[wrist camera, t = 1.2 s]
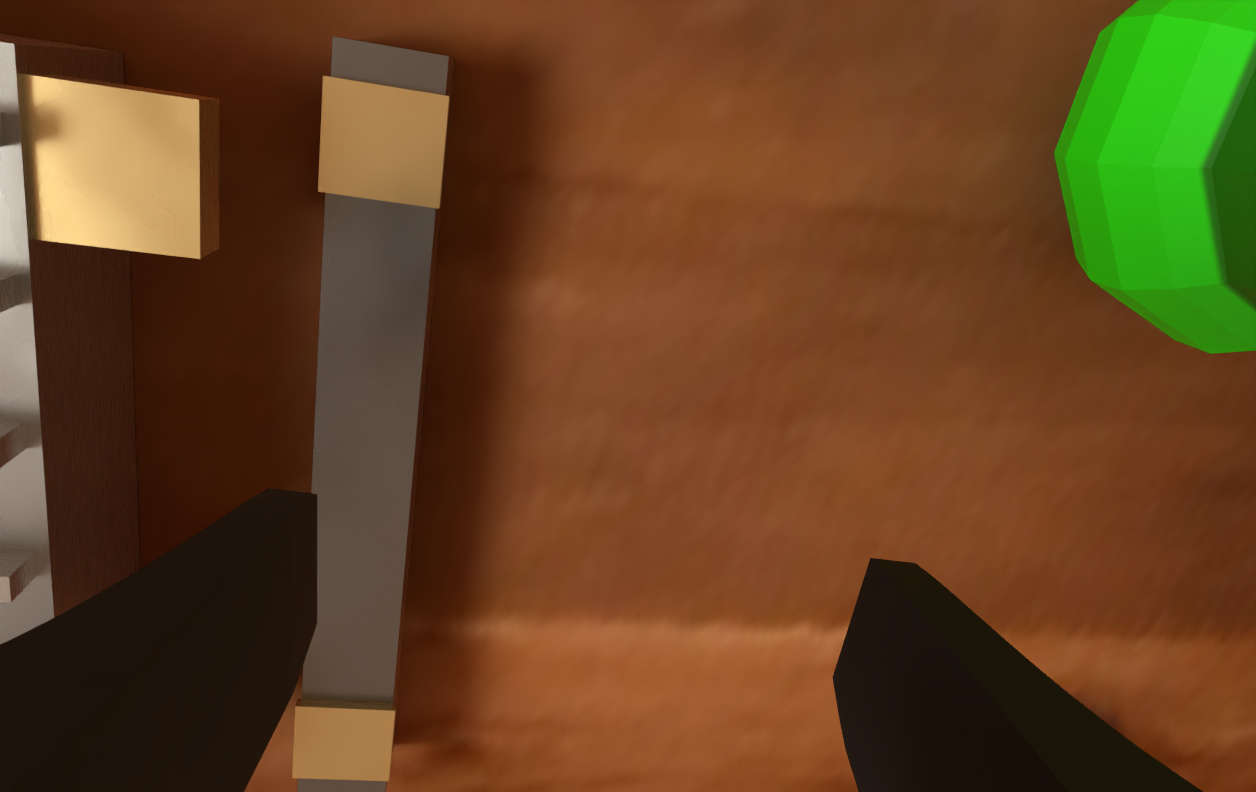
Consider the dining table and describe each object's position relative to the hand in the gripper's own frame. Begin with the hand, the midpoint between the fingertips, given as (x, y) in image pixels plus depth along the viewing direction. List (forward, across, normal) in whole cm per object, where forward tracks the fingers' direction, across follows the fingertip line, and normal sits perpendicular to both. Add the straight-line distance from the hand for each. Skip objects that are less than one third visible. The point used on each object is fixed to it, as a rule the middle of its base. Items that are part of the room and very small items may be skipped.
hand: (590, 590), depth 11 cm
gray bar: (+12, +6, +5) cm, 14 cm away
